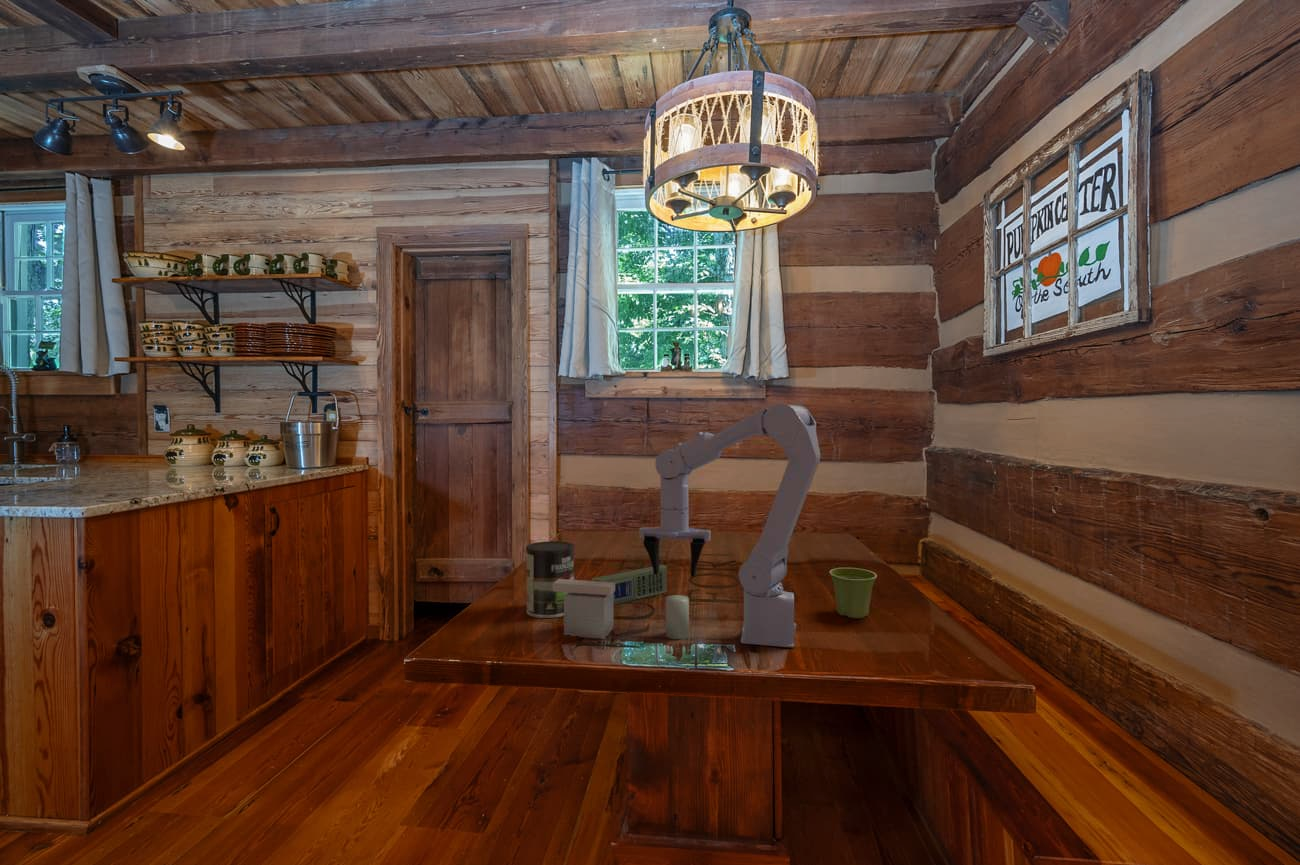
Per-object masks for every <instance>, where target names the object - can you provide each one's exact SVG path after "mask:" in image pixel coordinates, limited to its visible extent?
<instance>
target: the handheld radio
mask: <svg viewBox="0 0 1300 865" xmlns="http://www.w3.org/2000/svg"><path fill="white" fill-rule="evenodd" d="M590 581H598V582H614V583H615V592H614V593H613V606H617V604H618V605H620V604H621V603H622V604H626V603H630V602H633V600H634V601H637V600H636V599H638V600H642V599H641V598H643V599H647V598H651V597H655V596H658V594H659V595H663V594H662V593H664V594H666V592H668V591H667V590H668V588H667V587H668V585H667V565H664V564H659V573H658V574H657V575H656V574H654V572H653V567H652V566H649V567H643V568H639V569H634V570H628V571H623V572H618V573H613V574H608V575H603V576H597V577H595V578H591V580H590ZM654 595H655V596H654ZM650 596H651V597H650ZM646 597H647V598H646ZM629 601H630V602H629Z"/></svg>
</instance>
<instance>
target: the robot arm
mask: <svg viewBox="0 0 1300 865" xmlns="http://www.w3.org/2000/svg"><path fill="white" fill-rule="evenodd" d="M756 435H769V437H771V438H772V439H773V440H774V441H775V442H777V444H779V446H780V447H781V448H782V450H783V452H784V454H785V455H786V458H787V459H788V463H787V464H786V468H785V471H784V473H783V476H782V478H781V480H780V484H779V487H778V490H777V491H776V493H775V494H776V495H775V497H774V500H773V503H772V506H771V508H770V512H769V513H768V517H767V520H766V521H765V525H764V527H763V530H762V532H761V535H760V538H759V540H758V541H757V543H756V544H755V546H754V547H753V549H752V550H751V553H750V554H749V557H748V558H747V559H746V560H745V561H744V562H743V563H742V564H741V565H740V568H739V571H738V578H739V583H740V585H741V586H742V588H743V627H742V632H741V634H740V635H741V637H740V643H741V644H745V645H758V646H769V647H779V648H781V647H782V648H792V649H793V648H794V647H795V634H796V632H797V631H796V630H797V628H796V626H797V624H796V622H795V594H794V592H790V591H789V592H788V591H785V590H784V587H783V584H782V581H783V580H784V578H786V575H787V571H788V567H787V566H788V565H787V558H788V555H789V552H790V551H789V543H790V540H791V538H792V534H793V533H794V529H795V527H796V525H797V522H798V519H799V517H800V514H801V512H802V509H803V507H804V503H805V500H806V498H807V495H808V493H809V490H810V487H811V486H812V482H813V481H814V480H813V479H814V477H815V475H816V473H817V470H818V466H819V464H820V461H821V451H820V445H819V442H818V435H817V422H816V421H815V419H814V418H813V416H812V414H811V413H810V411H809V410H808V409H807V408H806V407H804V406H803V405H800V404H788V403H785V402H784V403H783V402H782V403H781V402H780V403H775V404H772V405H771V406H769V407H765V408H761V409H759V410H757V411H755V412H753V413H751V414H750V415H748V416H746V417H744V418H742V419H741V420H738V421H737V422H735V423H734V424H731V425H729V426H728V427H726V428H725V429H722V430H720V431H719V432H718V433H716V434H713V433H710V432H707V431H706V432H703V431H700V432H699V431H698V432H696V433H694V438H691V439H690V440H688V441H685V442H684V443H683V442H679V443H677V444H676V445H675V449H669V448H667V449H663V450H662V451H661V452H659V454H657V457H656V458H655V463H654V465H655V469H656V473H658V475H659V476H660V526H657V527H656V526H655V527H652V526H651V527H640V528H639V530H638V535H639V537H638V538H639V539H644V540H643V546H644V548H645V550H646V552H647V554H648V556H649V559H650V562H651V567H653V572H654V574H656V575H657V574H658V573H659V565H660V540H661V539H664V540H665V539H667V540H687V541H688V540H689V541H691V542H690V560H691V562H690V578H691V577H692V578H694V577H695V576H696V575H697V574H696V573H697V568H698V567H697V566H698V562H699V559H700V557H701V553H702V550H703V548H704V547H705V545H706V542H710V541H711V539H712V538H711V536H712V535H711V529H699V528H692V527H690V525H689V524H690V523H689V518H690V516H689V515H690V514H689V510H690V508H689V482H690V480H689V479H690V475H691V473H692V472H693V471H694V470H695V471H696V470H697V469H698V468H701V467H703V466H705V465H708V464H710V463H711V462H714V461H716V460H718V459H720V457H721V454H722V451H723V449H726V448H728V447H730V446H734V445H737V444H738V443H740V442H742V441H744V440H747V439H749V438H751V437H754V436H756Z"/></svg>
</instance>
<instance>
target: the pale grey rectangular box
mask: <svg viewBox="0 0 1300 865" xmlns="http://www.w3.org/2000/svg"><path fill="white" fill-rule="evenodd" d="M553 591H555V592H569V593H584V594H598V595H612V594H613V593H614V592H615V583H614V582H598V581H594V580H581V579H574V580H566V579H558V580H557V581H555V582H554V583H553Z"/></svg>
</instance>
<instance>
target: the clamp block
mask: <svg viewBox="0 0 1300 865" xmlns="http://www.w3.org/2000/svg"><path fill="white" fill-rule="evenodd" d="M614 627H615V626H614V605H613V594H612V595H598V594H584V593H567V594H566V595H565V596H564V616H563V636H565V635H570V636H569V637H576V636H579V637H578V638H589V639H590V638H591V639H601V640H605V639H606V637H607V636H608V635H609V634H610V633H611V631H613V629H614Z"/></svg>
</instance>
